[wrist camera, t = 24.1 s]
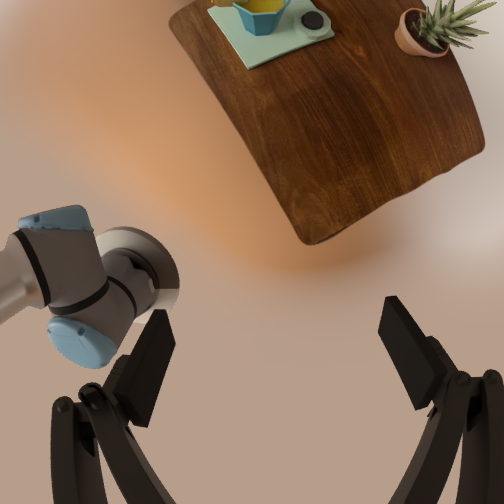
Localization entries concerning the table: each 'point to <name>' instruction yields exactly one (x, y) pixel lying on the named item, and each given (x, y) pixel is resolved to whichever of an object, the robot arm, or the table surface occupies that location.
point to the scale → (279, 40)
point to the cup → (257, 13)
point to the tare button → (313, 20)
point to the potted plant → (436, 28)
